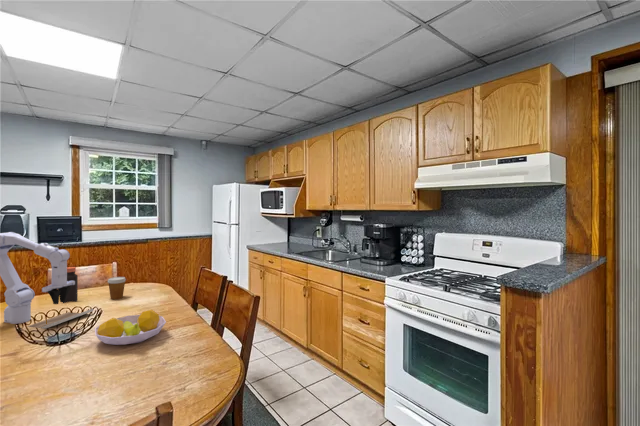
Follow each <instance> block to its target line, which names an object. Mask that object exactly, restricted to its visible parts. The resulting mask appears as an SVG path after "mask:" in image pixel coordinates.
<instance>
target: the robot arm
mask: <svg viewBox="0 0 640 426" xmlns="http://www.w3.org/2000/svg"><path fill="white" fill-rule="evenodd" d="M15 245H16V246H20V247H23V248H25V249H28V250H33V252H34V254H35V255H37V256H40V257H42V258H45V259H47V260H48V261H49V263H50V266H51V284H50V285H47V286H44V287H42V288H41V293H47V294H48V295H49V296H50V298H51V301H52V304H53V305H59V303H63V302H65V300H66V297H67V294H68V292H69V291H70V289H71V287H69V286H70V285H75V281H67V267H68V260H69V259H70V256H71V254H70V252H69V251H68V250H67V249H65V248H64V249H63V248H62V249H59V247H57V246H56V247H55V246H52V245H49V243H47V242H41V243H37V242H36V241H33V240H31V239H29V238H27V237H24V236H22V235H21V234H20V233H16V232H14V231H8V232H0V278H1V280H2V282H3V284H4V285H5V287H6V289H5V292H4V293H3V294H4V295H3V296H4V297H5V304H6V305H7V306H6V307H5V309H4V310H3V322H4V323H8V324H12V325H13V324H14V325H16V324H23V323H27V322H30V321H31V318H32V316H31V315H32V311H31V310H32V306H31V305H32V300H34V298H35V296H36V294H35V291H34V290H33V289H32V288H31V287H30V286H29V284H26V283H25V282H23V281H22V280H21V277H20V276H19V274H18V272H17V270H16V269H15V266H14V264H13V263H12V261H11V259H10V257H9V255H8V252H9V250H11V249H12V248H13V247H14V246H15Z"/></svg>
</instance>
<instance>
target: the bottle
mask: <svg viewBox="0 0 640 426" xmlns="http://www.w3.org/2000/svg"><path fill="white" fill-rule="evenodd" d="M76 270H77V269H76V267H75V266H69V267H68V266H67V281H75V285H70V286H69V287H71V289H70V291H69V292H68V294H67V297H66V300H65V302H62V303H63V304H67V303H69V302H74V303H76V302H78V299H79V297H78V291H79V290H78V281H79V280H78V279H79V278H78V275H77V274H76V272H77V271H76Z"/></svg>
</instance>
